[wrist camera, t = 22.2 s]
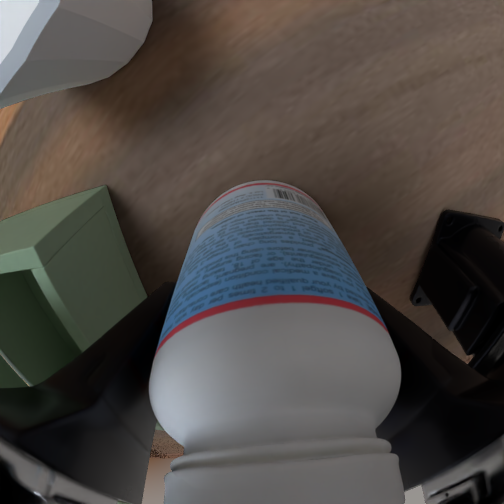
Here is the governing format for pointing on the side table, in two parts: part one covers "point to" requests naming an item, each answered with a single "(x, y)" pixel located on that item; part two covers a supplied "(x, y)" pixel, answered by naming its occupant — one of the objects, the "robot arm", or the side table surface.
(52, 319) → the chest
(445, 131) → the side table surface
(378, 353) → the pill bottle
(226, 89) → the side table surface
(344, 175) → the side table surface
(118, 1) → the shot glass
